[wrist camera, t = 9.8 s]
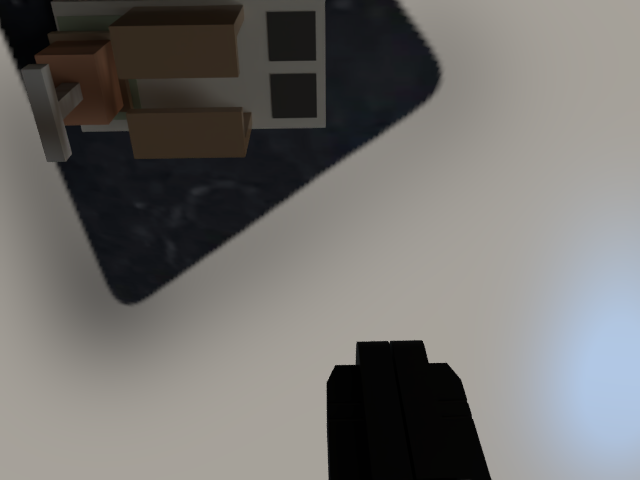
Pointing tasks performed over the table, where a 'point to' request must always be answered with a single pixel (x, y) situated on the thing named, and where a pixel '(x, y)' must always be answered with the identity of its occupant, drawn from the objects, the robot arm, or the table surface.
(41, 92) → the sled
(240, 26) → the tunnel
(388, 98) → the table surface
